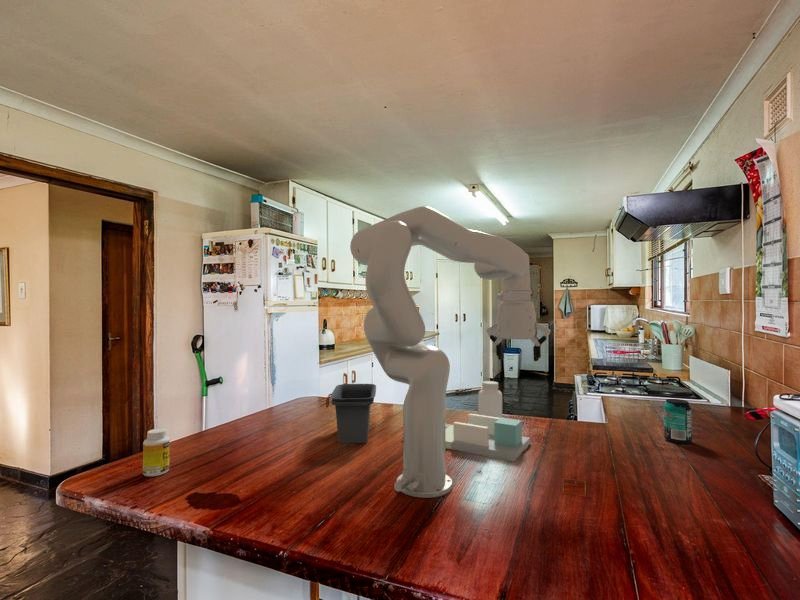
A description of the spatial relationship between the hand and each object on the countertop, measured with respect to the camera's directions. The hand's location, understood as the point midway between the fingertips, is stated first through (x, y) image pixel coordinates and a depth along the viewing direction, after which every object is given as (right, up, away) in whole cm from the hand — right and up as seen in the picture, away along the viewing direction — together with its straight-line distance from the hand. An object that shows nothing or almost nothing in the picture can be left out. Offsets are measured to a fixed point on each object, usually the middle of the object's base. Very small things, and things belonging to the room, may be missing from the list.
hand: (518, 359), depth 112 cm
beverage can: (+51, -26, +11) cm, 59 cm away
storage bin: (-48, -27, +16) cm, 57 cm away
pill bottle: (-2, -27, +25) cm, 37 cm away
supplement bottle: (-92, -26, -13) cm, 96 cm away
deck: (-13, -26, +10) cm, 31 cm away
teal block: (-2, -24, +3) cm, 24 cm away
